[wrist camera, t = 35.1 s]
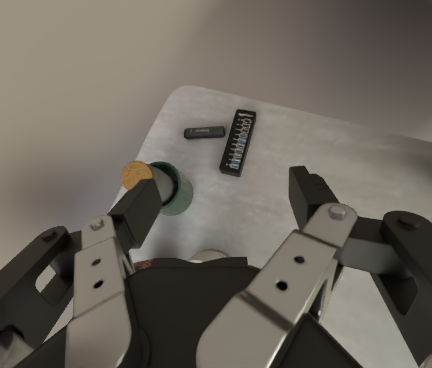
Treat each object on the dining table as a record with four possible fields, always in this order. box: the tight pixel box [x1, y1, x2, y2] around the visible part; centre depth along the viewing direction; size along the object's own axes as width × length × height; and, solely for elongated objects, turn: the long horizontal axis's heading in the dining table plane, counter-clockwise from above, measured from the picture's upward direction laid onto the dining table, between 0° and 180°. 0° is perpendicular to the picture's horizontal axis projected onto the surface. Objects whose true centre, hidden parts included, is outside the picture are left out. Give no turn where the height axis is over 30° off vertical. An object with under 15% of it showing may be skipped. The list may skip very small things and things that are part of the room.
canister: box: [148, 162, 193, 216], centre depth 42 cm, size 9×9×8 cm
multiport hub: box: [219, 109, 256, 177], centre depth 45 cm, size 4×14×2 cm, turn 163°
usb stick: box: [184, 126, 225, 139], centre depth 48 cm, size 10×3×2 cm, turn 88°
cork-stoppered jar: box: [121, 161, 178, 206], centre depth 38 cm, size 6×6×15 cm
